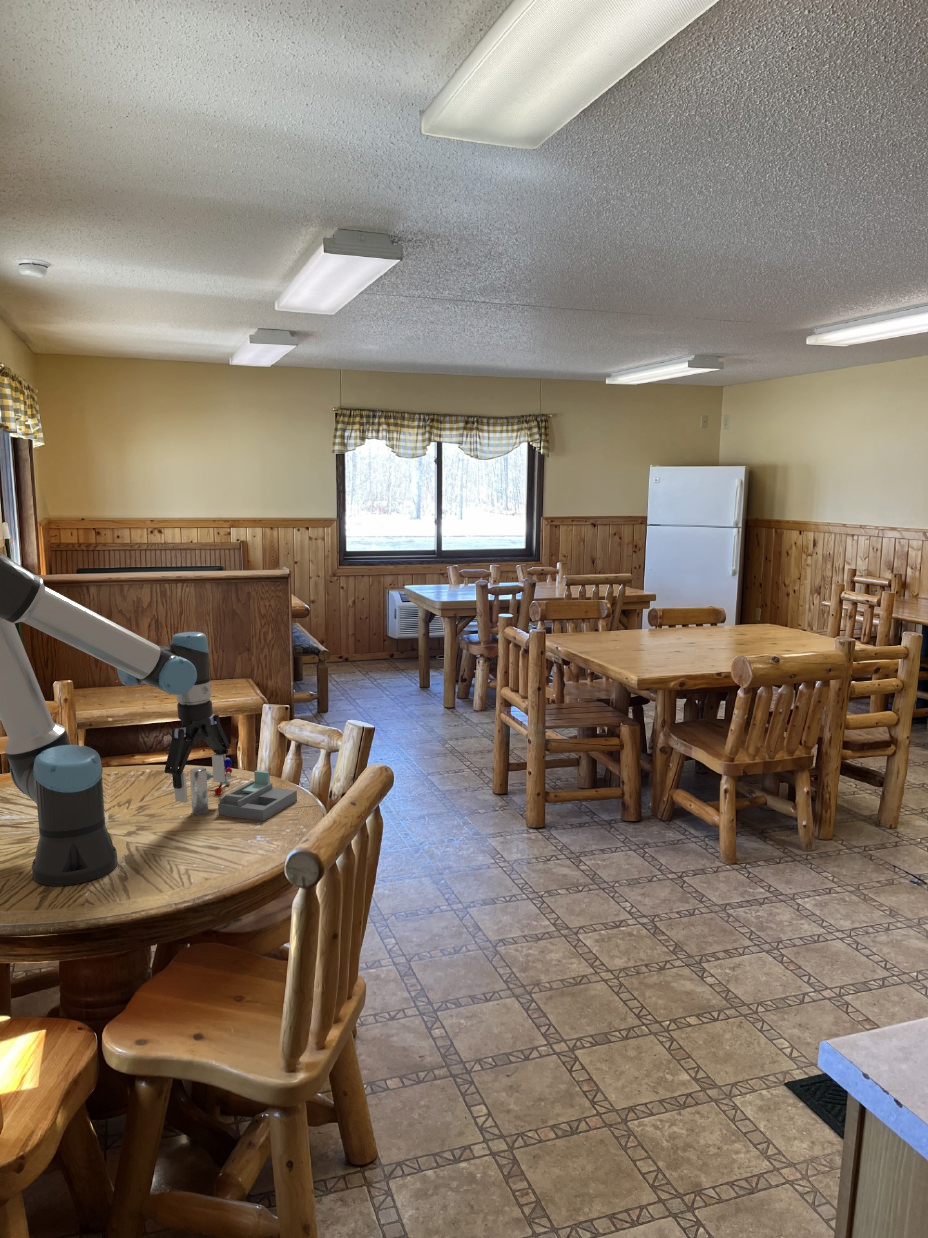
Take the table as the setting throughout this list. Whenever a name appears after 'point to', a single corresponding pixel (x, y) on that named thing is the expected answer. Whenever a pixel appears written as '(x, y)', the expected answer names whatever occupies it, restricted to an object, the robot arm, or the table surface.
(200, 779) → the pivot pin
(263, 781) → the lid
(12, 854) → the table surface
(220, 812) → the housing
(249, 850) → the table surface
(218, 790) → the molecular model
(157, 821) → the table surface
